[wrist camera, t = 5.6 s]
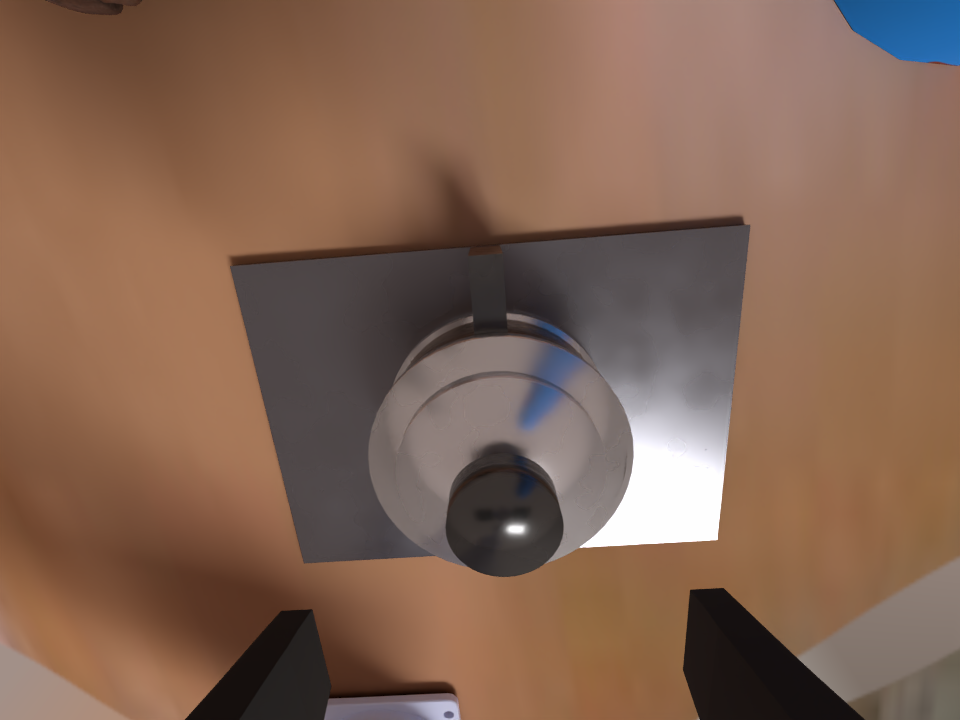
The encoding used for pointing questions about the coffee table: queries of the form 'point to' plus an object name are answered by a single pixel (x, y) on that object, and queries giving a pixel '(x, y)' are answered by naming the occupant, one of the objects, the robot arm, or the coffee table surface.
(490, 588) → the coffee table surface
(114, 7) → the brown animal figurine
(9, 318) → the coffee table surface
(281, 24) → the coffee table surface
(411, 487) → the silver lid with knob
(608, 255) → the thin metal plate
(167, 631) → the coffee table surface
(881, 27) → the thermos
